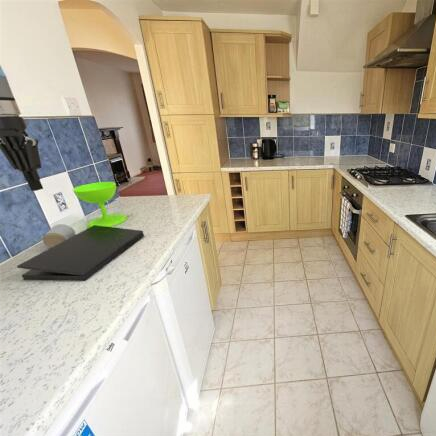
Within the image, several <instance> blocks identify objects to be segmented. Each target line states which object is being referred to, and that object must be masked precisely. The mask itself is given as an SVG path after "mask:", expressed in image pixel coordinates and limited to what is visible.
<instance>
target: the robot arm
mask: <svg viewBox="0 0 436 436" xmlns="http://www.w3.org/2000/svg"><path fill="white" fill-rule="evenodd" d="M20 115H22V112H21V110H20V108H19V106H18V103H17V101H16V98H15V96H14V94H13V91H12V89H11V86H10V83H9V80H8V78H7V75H6V73H5V72H4V70H3V68H2V66H1V65H0V151H1V152H2V154H3V155H4V156H5V158H6V160H7V161H8V162H9V164H10V166H11V167H12V168H13V170H14V171H15V170H18V171H19V172H20V173H22V175H23V178H24V180H25V181H26V182H27V184H28V187H29V189H30V191H31V192H36V191H39V190H43V189H44V187H43V184H42V182H41V178H40V175H39V172H38V170H40V169H42V162H41V157H40V153H39V152H40V151H39V147H38V146H39V140H38V139H37V138H32V137H30V136H29V134H28V133H27V132H26V130H27V127H28V126H27V124H26V122H25V119H24V118H23V117H22V116H20Z"/></svg>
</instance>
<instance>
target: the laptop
mask: <svg viewBox="0 0 436 436" xmlns="http://www.w3.org/2000/svg"><path fill="white" fill-rule="evenodd" d="M144 237H145V234H144V232H143V233H141V234H140V235H139V236H137V237H136V238H135V239H133V240H132V241H130V242H129V243H128V244H126V245H125V246H124V247H122V248H121V249H119V250H118V251H117V252H115V253H114V254H113V255H111V256H110V257H108V258H107V259H106V260H104V261H103V262H102V263H100V264H99V265H97V266H96V267H95V268H93V269H92V270H90V271H89V272H88V273H86V274H85V275H84V276H81V275H73V274H64V273H56V272H48V271H39V270H31V269H28V271H26V272H24V273H23V274H21V277H22V279H23V280H24V281H25V280H26V281H71V282H72V281H73V282H74V281H76V282H79V281H80V282H86V281H87V280H89V279H90V278H91V277H92V276H94V275H96V274H97V273H98V272H99V271H101V270H102V269H103V268H105V267H106V266H107V265H108V264H110V263H111V262H112V261H114V260H115V259H117V258H118V257H119V256H120V255H122V254H123V253H125V252H126V251H127V250H128V249H129V248H131V247H132V246H134V245H135V244H136V243H138V242H139V241H140V240H141V239H143V238H144Z"/></svg>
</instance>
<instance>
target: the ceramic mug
mask: <svg viewBox="0 0 436 436" xmlns="http://www.w3.org/2000/svg"><path fill="white" fill-rule="evenodd" d="M77 234H78V233H76V231H75V229H74V228H72V226H70V225H67V224H64V223H63V224H62V223H60V224H55V225H53V227H51V228H50V229H49V231H47V232H46V233H45V234H44V236H43V238H42V242H43V244H44V245H45V246H46V247H47V248H49V249H50V248H52V247H54V246H56V245H58V244H60V243H61V242H63V241H65V240H67V239H69V238H71V237H73V236H75V235H77Z"/></svg>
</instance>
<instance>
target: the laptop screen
mask: <svg viewBox="0 0 436 436" xmlns="http://www.w3.org/2000/svg"><path fill="white" fill-rule="evenodd" d="M141 233H143V234H144V230H139V229H133V228H132V229H131V228H123V227H122V228H121V227H114V226H111V227H106V226H97V225H94V226H92V227H90V228H88V227H87V228H86V229H84V230H82V231H79V233H76V234H77V235H75V236H73V237H71V238H69V239H67V240H65V241H63V242H61V243H60V244H58V245H56V246H54V247H52V248H50V247H49V248H48V249H46V250H44V251H42V252H41V253H39V254H37V255H34V256H33V257H31V258H29V259H27V260H25V261H23V262H22V263H19V264H18V265H16V268H17V269H21V270H39V271H48V272H56V273H64V274H73V275H81V276H84V275H85V274H86V273H88V272H89V271H90V270H92V269H93V268H95V267H96V266H97V265H99V264H100V263H102V262H103V261H104V260H106V259H107V258H108V257H110V256H111V255H113V254H114V253H115V252H117V251H118V250H119V249H121V248H122V247H124V246H125V245H126V244H128V243H129V242H130V241H132V240H133V239H135V238H136V237H137V236H139V235H140V234H141Z"/></svg>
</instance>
